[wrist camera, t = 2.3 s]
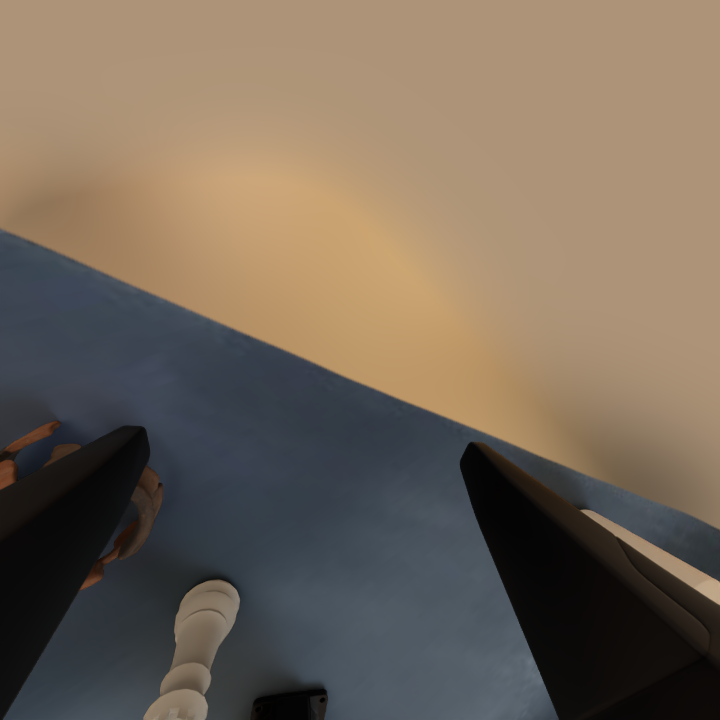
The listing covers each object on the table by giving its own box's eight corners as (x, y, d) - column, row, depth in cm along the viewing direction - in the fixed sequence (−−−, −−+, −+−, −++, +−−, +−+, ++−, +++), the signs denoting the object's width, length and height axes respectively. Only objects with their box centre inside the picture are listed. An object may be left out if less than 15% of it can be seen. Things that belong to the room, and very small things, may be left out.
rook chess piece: (183, 634, 22) (123, 796, 14) (178, 583, 21) (113, 719, 14) (243, 619, 23) (217, 761, 15) (239, 569, 23) (211, 688, 15)
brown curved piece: (89, 381, 20) (80, 434, 14) (182, 452, 25) (204, 511, 19) (-146, 524, 15) (-311, 697, 9) (33, 572, 20) (3, 698, 15)
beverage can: (549, 515, 30) (709, 623, 19) (591, 497, 32) (764, 587, 20) (555, 564, 31) (713, 698, 19) (596, 545, 32) (766, 658, 21)
